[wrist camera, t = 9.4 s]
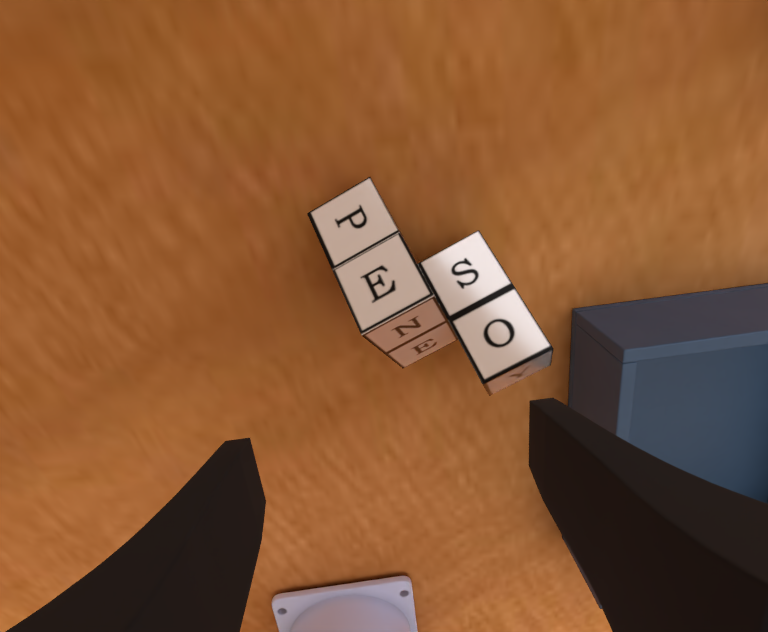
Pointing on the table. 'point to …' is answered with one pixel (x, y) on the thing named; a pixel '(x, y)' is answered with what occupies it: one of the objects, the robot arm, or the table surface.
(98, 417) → the table surface
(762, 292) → the open box
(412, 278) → the building blocks
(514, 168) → the table surface
